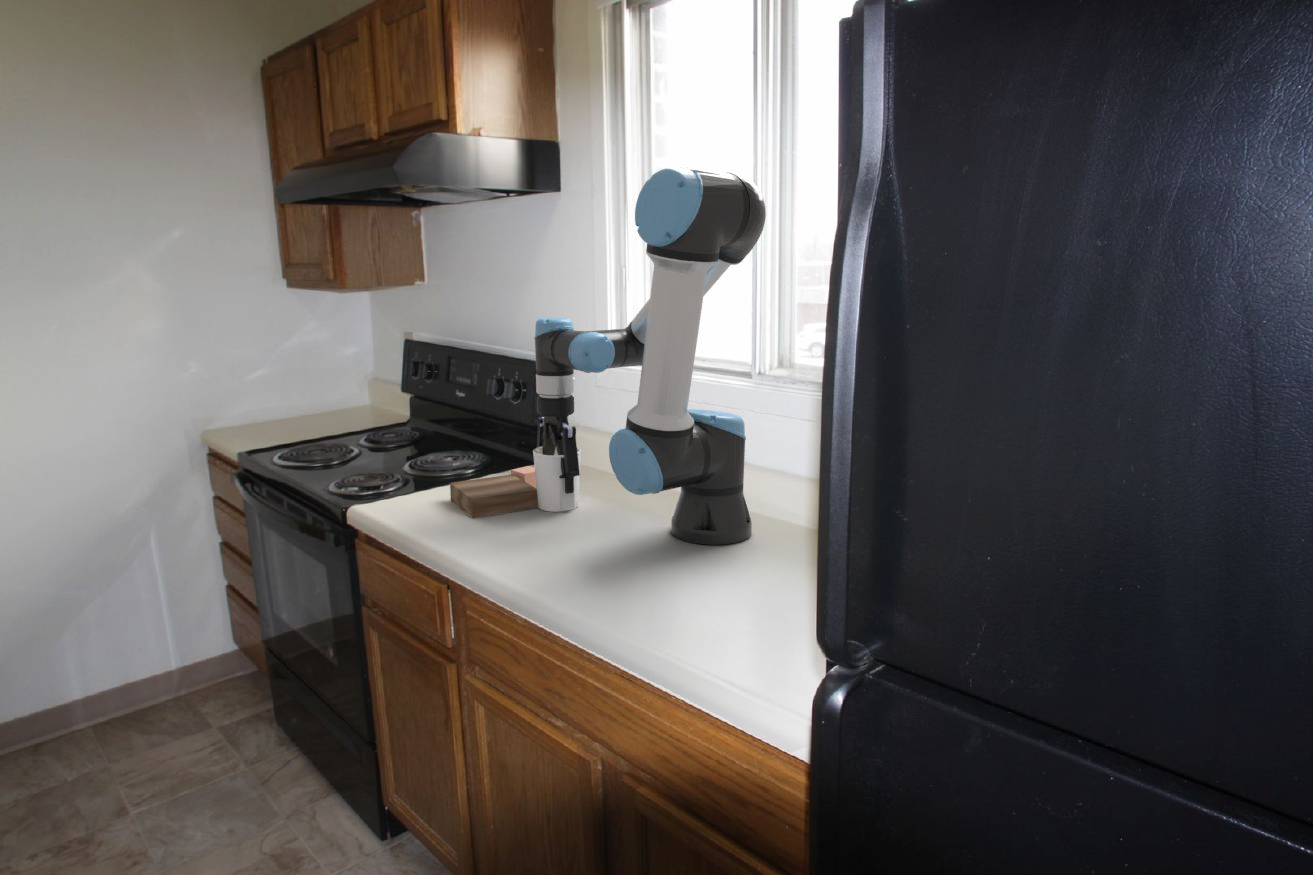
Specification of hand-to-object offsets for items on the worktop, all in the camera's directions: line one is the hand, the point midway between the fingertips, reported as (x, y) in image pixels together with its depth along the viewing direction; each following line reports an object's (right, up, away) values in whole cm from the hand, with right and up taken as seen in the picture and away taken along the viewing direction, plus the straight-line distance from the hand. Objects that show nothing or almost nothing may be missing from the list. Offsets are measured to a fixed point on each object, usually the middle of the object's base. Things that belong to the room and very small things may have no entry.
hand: (557, 501), depth 171 cm
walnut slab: (-14, -1, +1) cm, 14 cm away
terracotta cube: (-8, +1, +11) cm, 14 cm away
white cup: (0, -1, 0) cm, 1 cm away
